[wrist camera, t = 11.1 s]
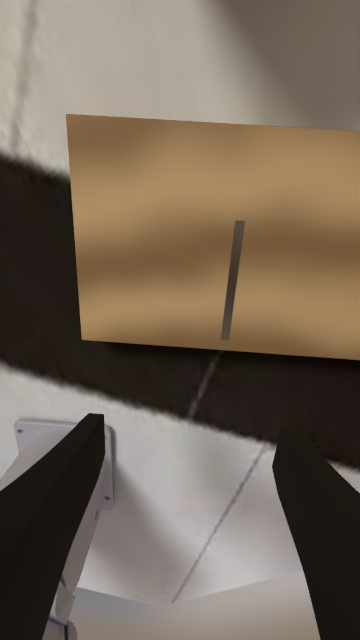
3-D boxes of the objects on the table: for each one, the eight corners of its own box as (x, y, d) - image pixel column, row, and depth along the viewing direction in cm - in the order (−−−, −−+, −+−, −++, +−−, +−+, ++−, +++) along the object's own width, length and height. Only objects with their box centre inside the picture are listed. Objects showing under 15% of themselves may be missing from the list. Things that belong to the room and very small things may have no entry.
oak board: (518, 355, 19) (563, 375, 17) (94, 325, 20) (81, 339, 17) (625, 162, 15) (705, 151, 13) (84, 129, 16) (65, 113, 13)
